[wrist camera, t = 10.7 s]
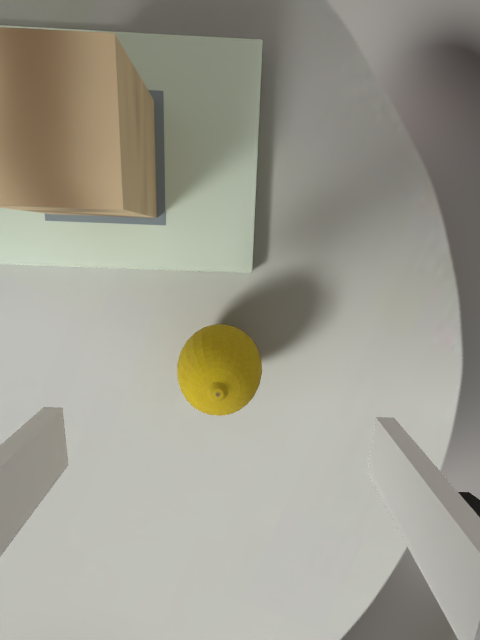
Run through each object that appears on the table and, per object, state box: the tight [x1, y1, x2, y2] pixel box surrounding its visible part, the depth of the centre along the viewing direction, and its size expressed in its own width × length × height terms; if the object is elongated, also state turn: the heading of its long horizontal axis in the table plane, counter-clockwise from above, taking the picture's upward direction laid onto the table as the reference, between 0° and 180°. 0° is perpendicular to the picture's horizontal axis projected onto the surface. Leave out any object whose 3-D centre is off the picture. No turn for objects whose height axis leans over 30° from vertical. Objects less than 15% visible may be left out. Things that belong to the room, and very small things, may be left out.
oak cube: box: [0, 27, 157, 218], centre depth 18 cm, size 7×7×7 cm
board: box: [0, 25, 263, 273], centre depth 22 cm, size 20×14×1 cm
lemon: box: [178, 324, 262, 415], centre depth 22 cm, size 6×6×8 cm
